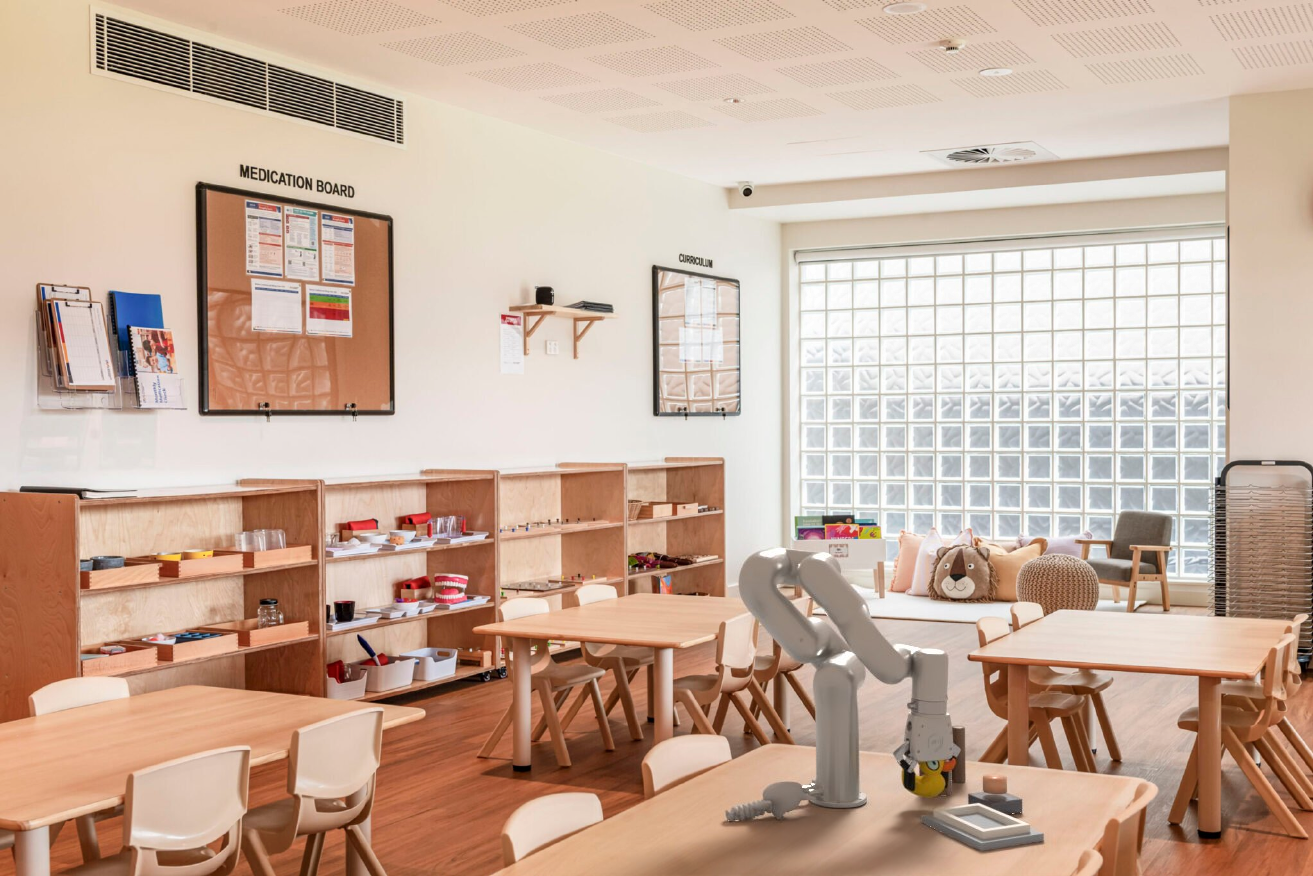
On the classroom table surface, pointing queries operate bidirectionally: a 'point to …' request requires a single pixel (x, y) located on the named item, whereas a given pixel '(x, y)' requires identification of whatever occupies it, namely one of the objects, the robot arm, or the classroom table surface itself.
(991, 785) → the button
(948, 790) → the wooden toy
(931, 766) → the duckling
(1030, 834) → the tray
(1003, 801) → the button base
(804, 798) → the toy creature
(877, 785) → the classroom table surface
